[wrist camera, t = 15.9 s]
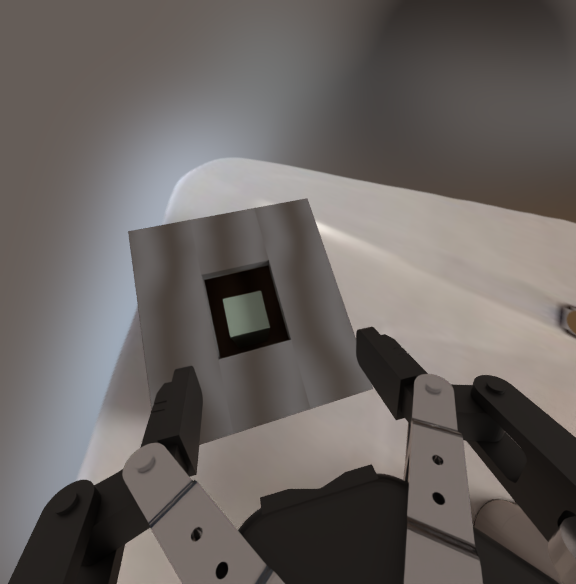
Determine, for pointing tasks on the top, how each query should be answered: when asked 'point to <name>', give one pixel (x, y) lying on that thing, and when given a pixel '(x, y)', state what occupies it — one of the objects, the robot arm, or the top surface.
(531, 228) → the top surface
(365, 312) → the top surface
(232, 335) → the sage peg
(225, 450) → the top surface
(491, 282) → the top surface
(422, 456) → the robot arm
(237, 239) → the box
